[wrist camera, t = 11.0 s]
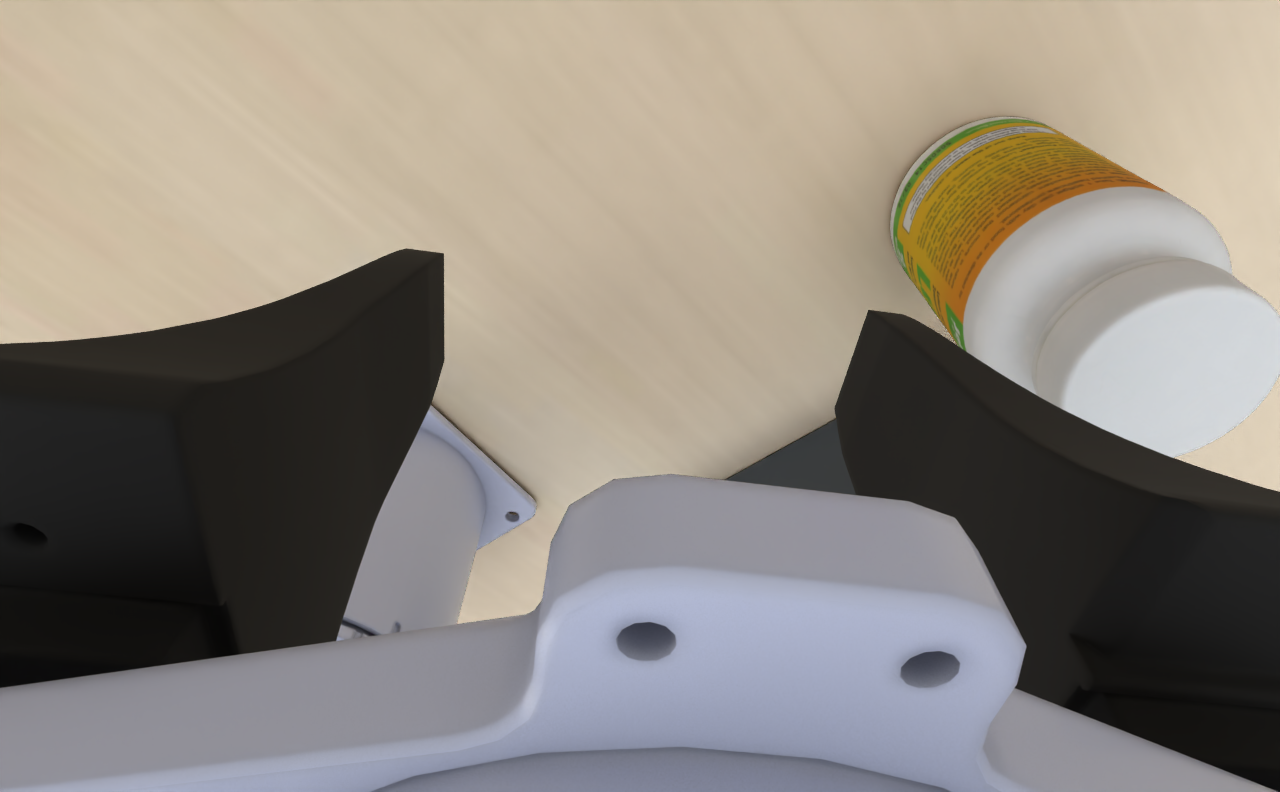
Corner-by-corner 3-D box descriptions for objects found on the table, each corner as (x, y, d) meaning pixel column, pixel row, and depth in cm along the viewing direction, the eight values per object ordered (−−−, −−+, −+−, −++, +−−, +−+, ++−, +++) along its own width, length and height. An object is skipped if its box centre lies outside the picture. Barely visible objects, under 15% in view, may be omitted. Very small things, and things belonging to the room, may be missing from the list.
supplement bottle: (848, 235, 23) (962, 422, 14) (979, 72, 20) (1206, 189, 12) (977, 319, 24) (1145, 529, 16) (1115, 177, 22) (1397, 342, 13)
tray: (820, 678, 34) (839, 762, 31) (659, 515, 29) (661, 595, 26) (1094, 563, 30) (1150, 644, 27) (966, 345, 25) (1017, 415, 21)
